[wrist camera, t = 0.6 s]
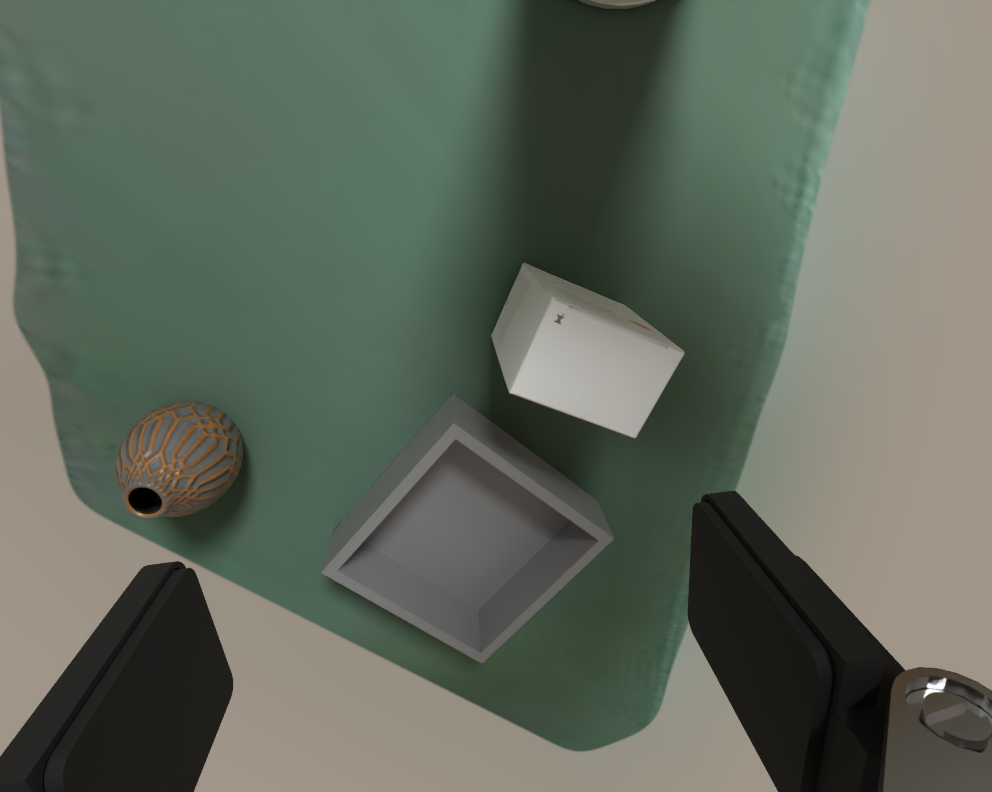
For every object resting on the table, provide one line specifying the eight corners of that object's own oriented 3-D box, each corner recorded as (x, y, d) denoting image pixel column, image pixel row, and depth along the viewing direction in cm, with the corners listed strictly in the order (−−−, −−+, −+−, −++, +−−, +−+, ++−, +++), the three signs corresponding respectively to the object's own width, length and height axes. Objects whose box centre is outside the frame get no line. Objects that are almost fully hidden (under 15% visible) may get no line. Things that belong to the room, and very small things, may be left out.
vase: (271, 461, 41) (229, 534, 33) (181, 486, 42) (117, 565, 34) (229, 375, 39) (172, 433, 31) (133, 403, 39) (51, 467, 31)
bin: (452, 392, 41) (453, 422, 36) (597, 499, 45) (614, 538, 40) (333, 529, 44) (320, 572, 39) (478, 616, 49) (482, 663, 44)
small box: (489, 335, 39) (503, 393, 30) (522, 259, 37) (549, 294, 28) (591, 376, 41) (636, 443, 31) (628, 305, 39) (688, 353, 29)
